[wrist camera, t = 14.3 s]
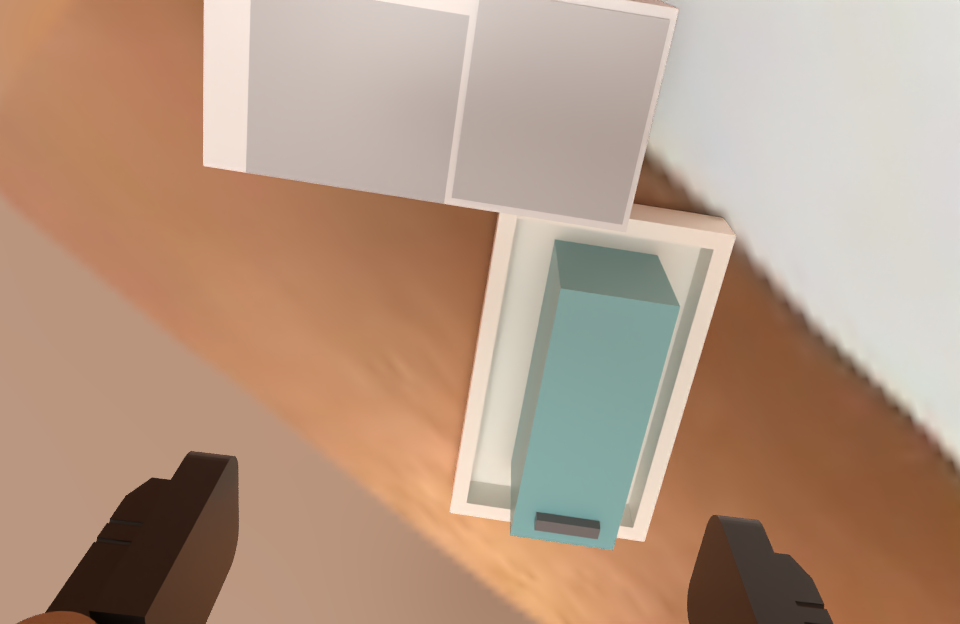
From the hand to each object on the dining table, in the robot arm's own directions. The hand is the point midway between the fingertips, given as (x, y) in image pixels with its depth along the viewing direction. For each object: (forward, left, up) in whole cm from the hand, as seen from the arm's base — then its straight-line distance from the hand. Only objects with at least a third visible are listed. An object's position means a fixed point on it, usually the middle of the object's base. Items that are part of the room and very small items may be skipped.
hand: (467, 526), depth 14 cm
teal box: (-6, +10, -26) cm, 28 cm away
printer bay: (+3, -4, -26) cm, 27 cm away
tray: (-6, +10, -26) cm, 29 cm away
